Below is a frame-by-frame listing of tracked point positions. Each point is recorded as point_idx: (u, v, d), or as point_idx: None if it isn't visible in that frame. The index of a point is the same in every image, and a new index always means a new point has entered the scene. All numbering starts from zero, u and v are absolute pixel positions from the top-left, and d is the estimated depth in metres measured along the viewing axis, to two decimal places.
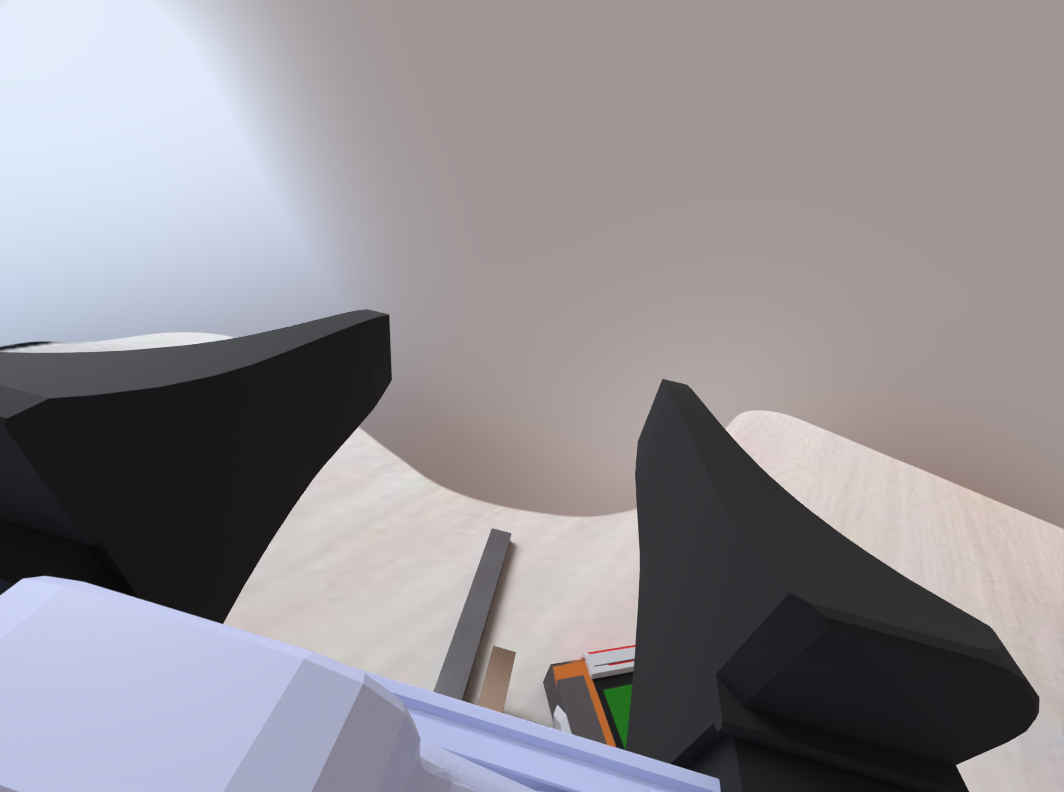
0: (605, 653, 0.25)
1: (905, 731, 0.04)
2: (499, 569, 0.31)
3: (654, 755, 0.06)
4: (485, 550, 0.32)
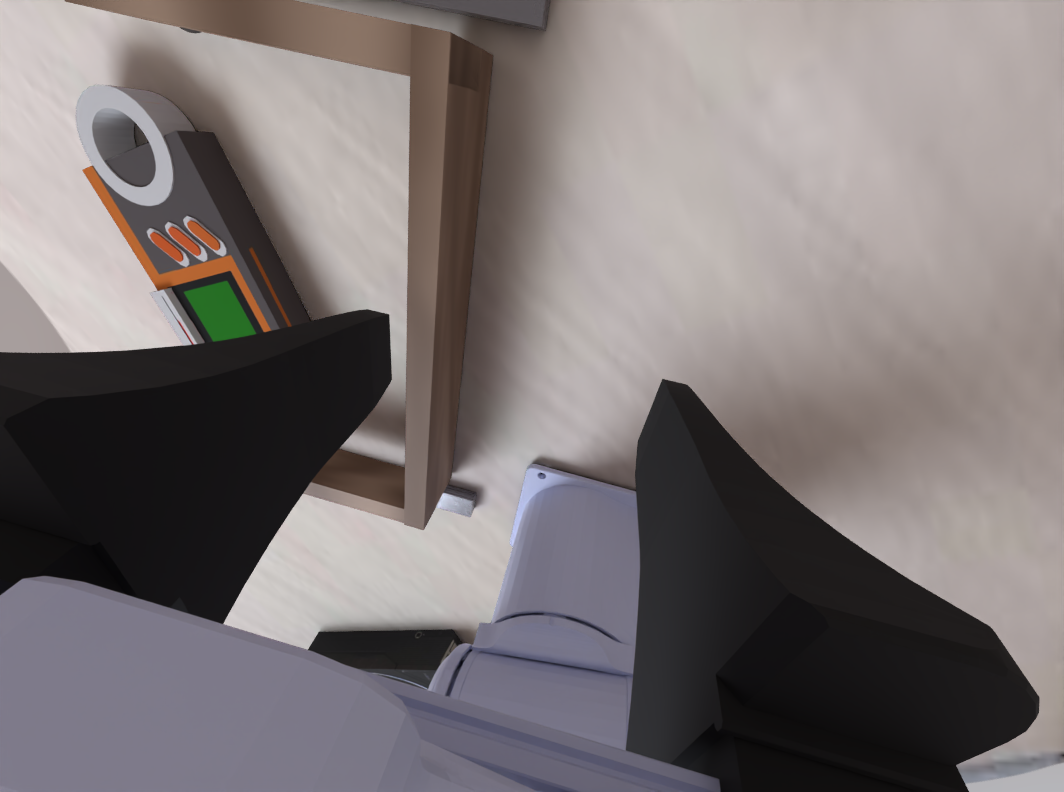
0: None
1: (905, 730, 0.04)
2: None
3: (654, 755, 0.06)
4: None
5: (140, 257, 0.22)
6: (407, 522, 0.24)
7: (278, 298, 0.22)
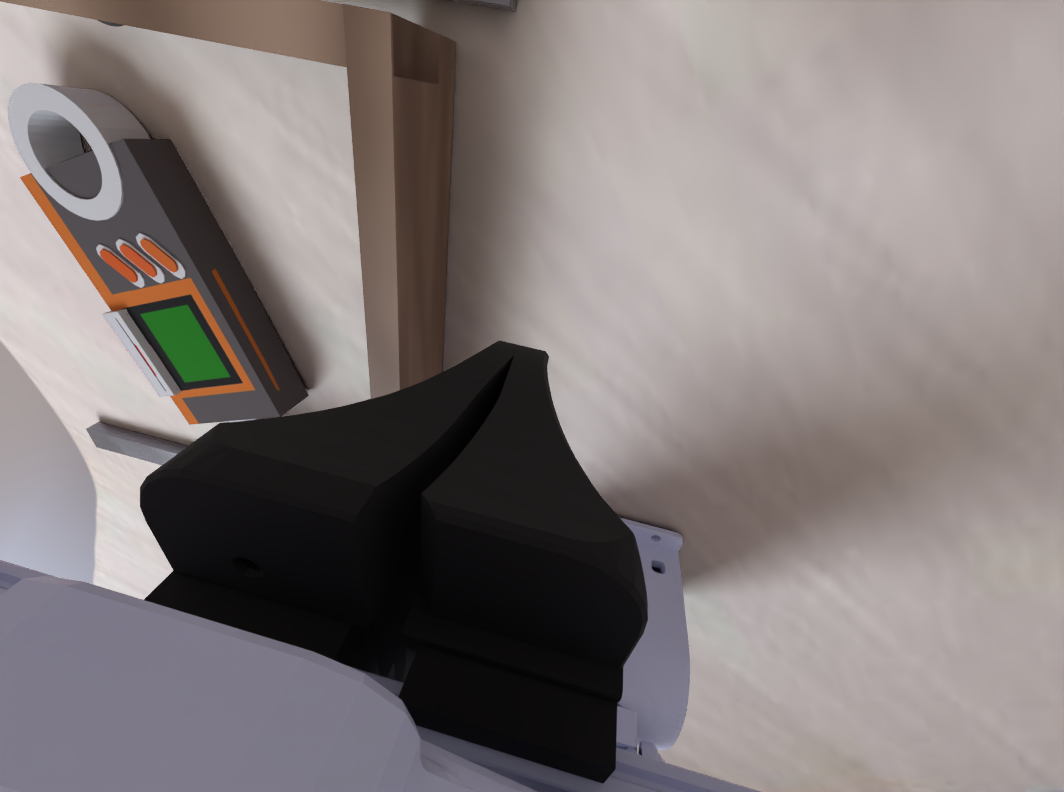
0: (146, 374, 0.22)
1: (561, 632, 0.04)
2: (133, 442, 0.28)
3: None
4: (124, 453, 0.29)
5: (90, 275, 0.19)
6: None
7: (246, 324, 0.20)
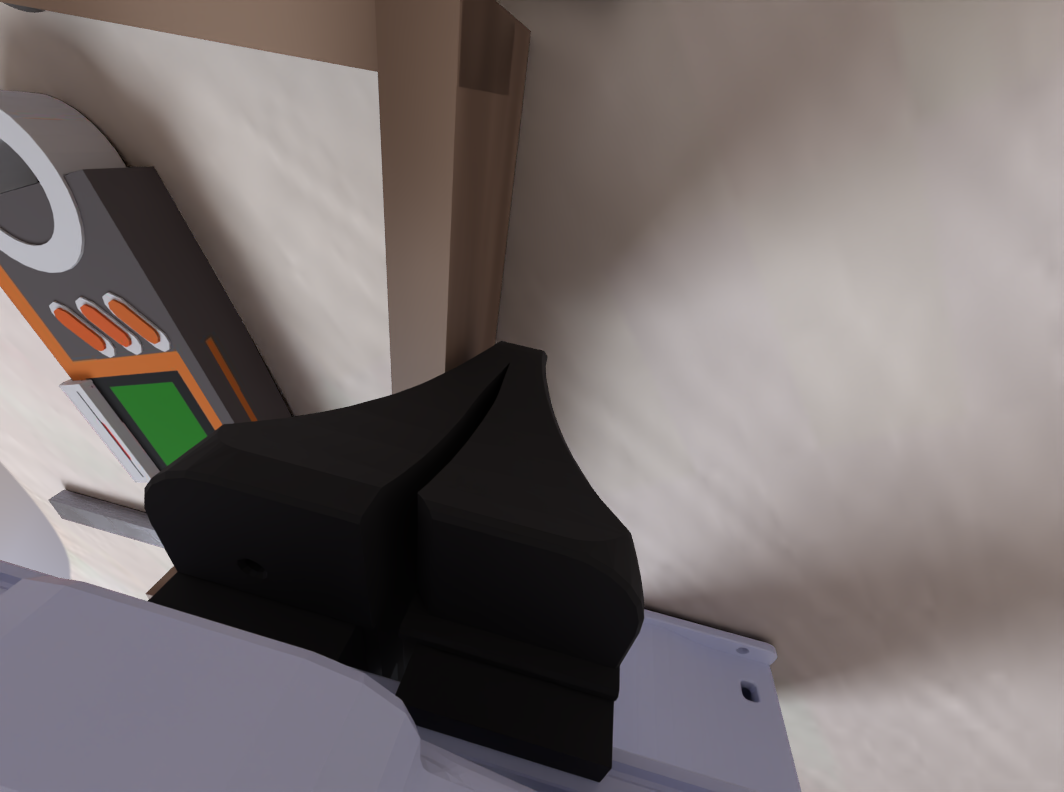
0: (118, 456, 0.17)
1: (557, 631, 0.04)
2: (104, 516, 0.24)
3: None
4: (95, 527, 0.24)
5: (43, 336, 0.15)
6: None
7: (249, 404, 0.15)
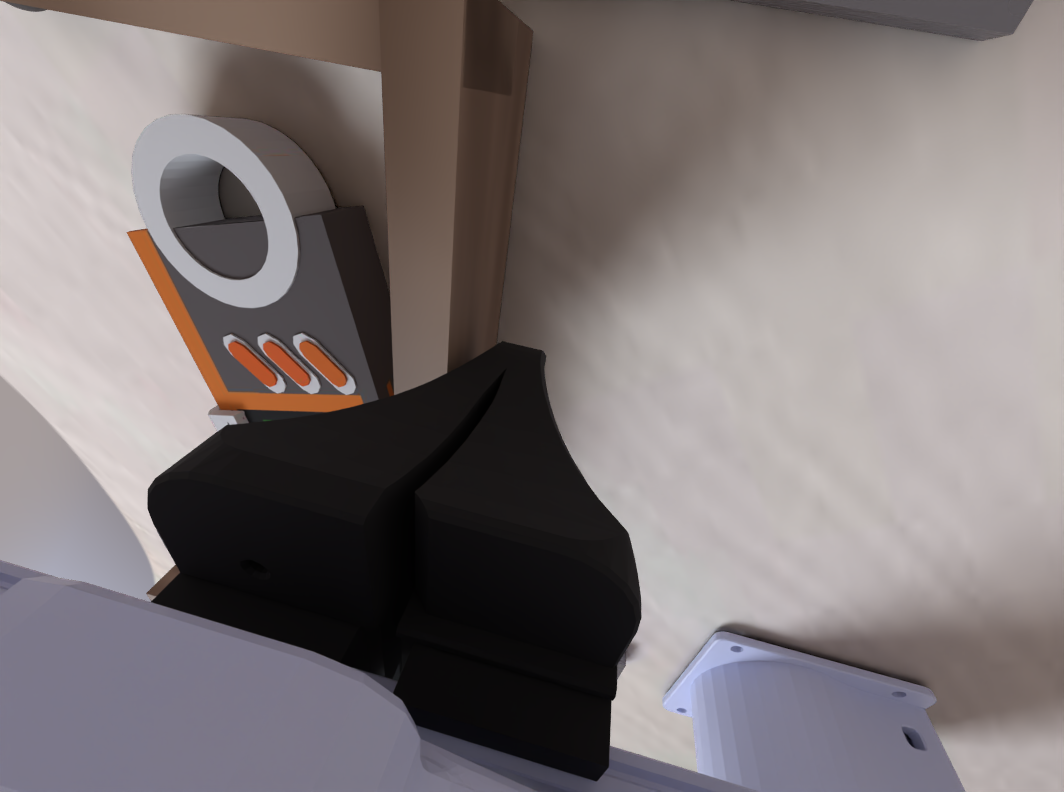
0: None
1: (555, 630, 0.04)
2: None
3: None
4: None
5: (202, 365, 0.14)
6: None
7: None
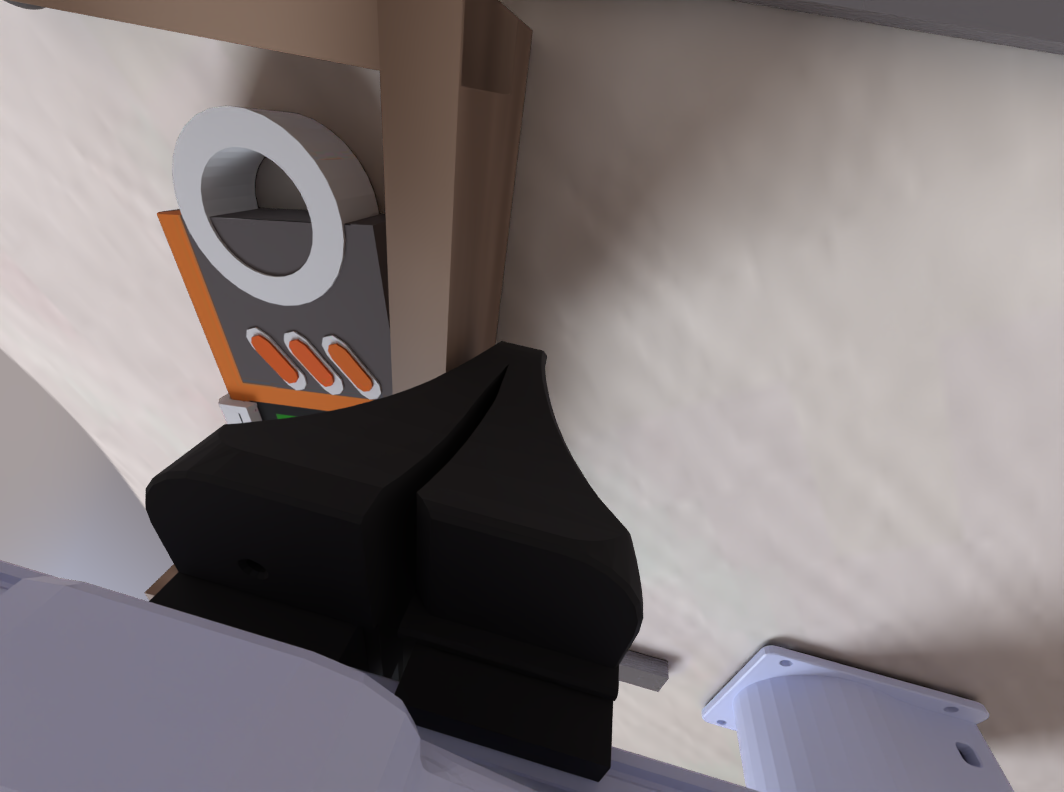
0: None
1: (557, 631, 0.04)
2: None
3: None
4: None
5: (218, 354, 0.14)
6: None
7: None
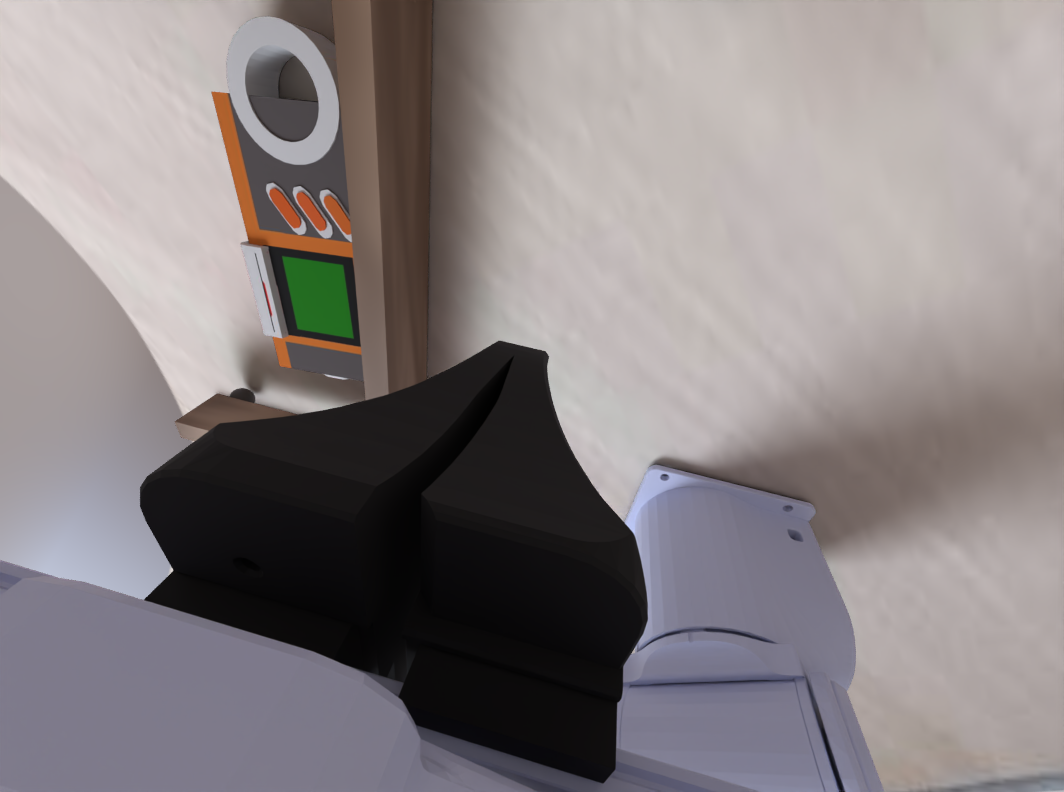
0: (260, 311, 0.21)
1: (562, 632, 0.04)
2: None
3: None
4: None
5: (244, 205, 0.19)
6: None
7: None
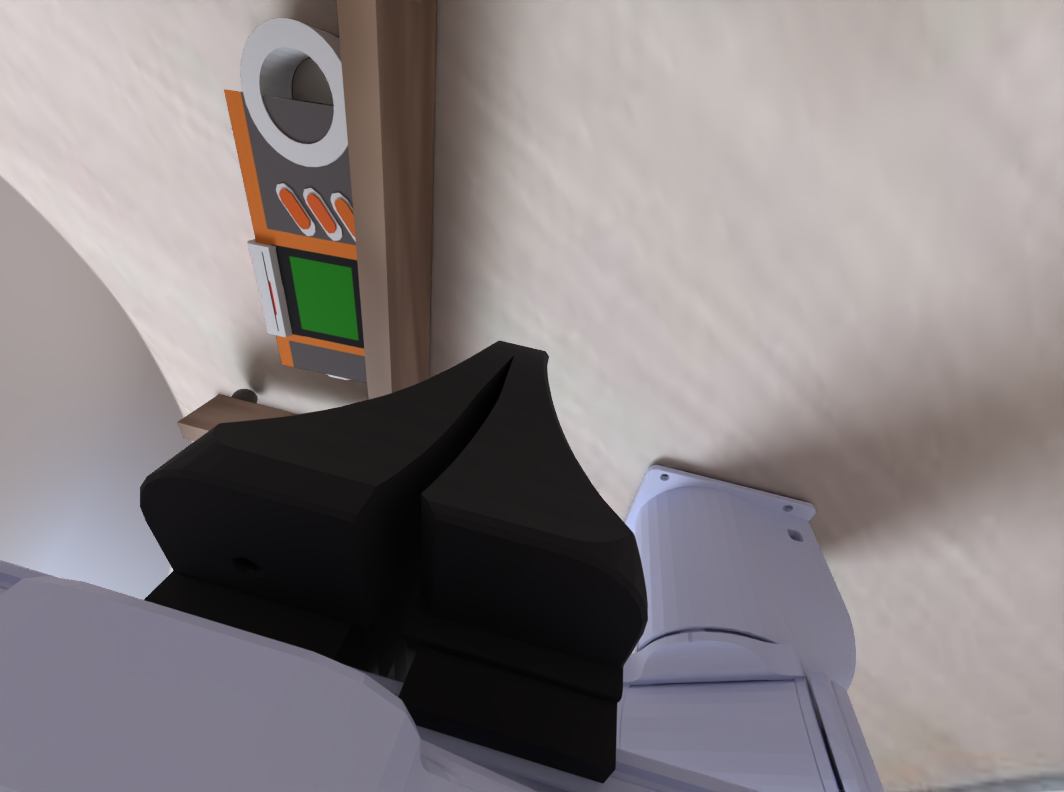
0: (264, 309, 0.21)
1: (562, 632, 0.04)
2: None
3: None
4: None
5: (252, 203, 0.19)
6: None
7: None
